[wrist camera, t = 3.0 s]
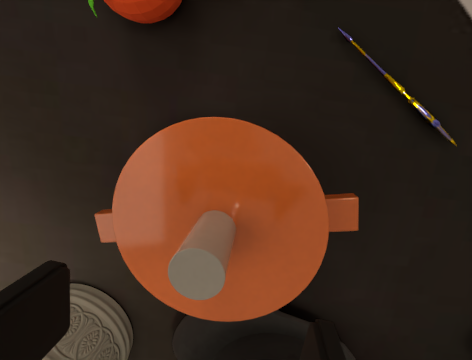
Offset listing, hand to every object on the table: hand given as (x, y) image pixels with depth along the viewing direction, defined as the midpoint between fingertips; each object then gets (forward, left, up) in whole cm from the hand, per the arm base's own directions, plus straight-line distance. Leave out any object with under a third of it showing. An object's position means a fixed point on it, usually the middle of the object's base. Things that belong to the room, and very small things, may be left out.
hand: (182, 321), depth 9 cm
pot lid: (0, 0, -8) cm, 8 cm away
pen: (-12, +12, -16) cm, 23 cm away
